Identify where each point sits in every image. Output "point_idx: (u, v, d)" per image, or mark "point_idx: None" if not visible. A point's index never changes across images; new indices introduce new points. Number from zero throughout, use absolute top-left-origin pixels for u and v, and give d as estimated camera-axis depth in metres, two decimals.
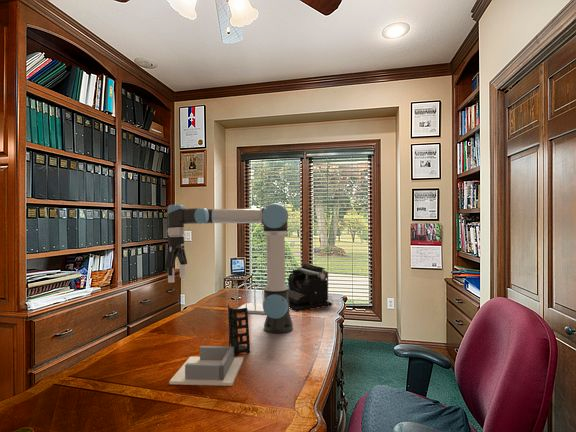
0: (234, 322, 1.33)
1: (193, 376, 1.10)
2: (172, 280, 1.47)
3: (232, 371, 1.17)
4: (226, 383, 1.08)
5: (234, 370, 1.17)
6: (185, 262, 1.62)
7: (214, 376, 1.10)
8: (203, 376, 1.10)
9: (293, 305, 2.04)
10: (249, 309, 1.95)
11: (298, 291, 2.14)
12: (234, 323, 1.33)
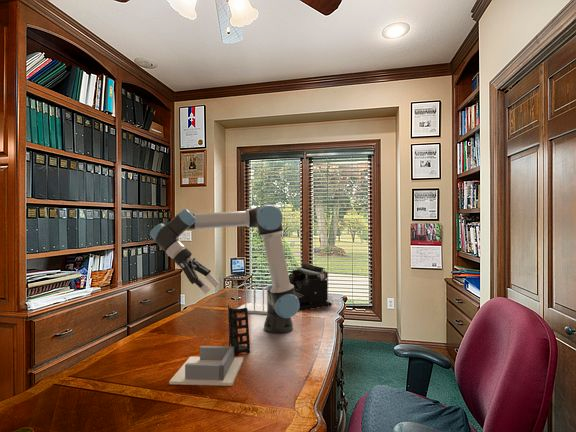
0: (234, 322, 1.33)
1: (193, 376, 1.10)
2: (207, 289, 1.30)
3: (232, 371, 1.17)
4: (226, 383, 1.08)
5: (234, 370, 1.17)
6: (208, 271, 1.46)
7: (214, 376, 1.10)
8: (203, 376, 1.10)
9: None
10: (248, 309, 1.95)
11: (298, 291, 2.14)
12: (234, 323, 1.33)
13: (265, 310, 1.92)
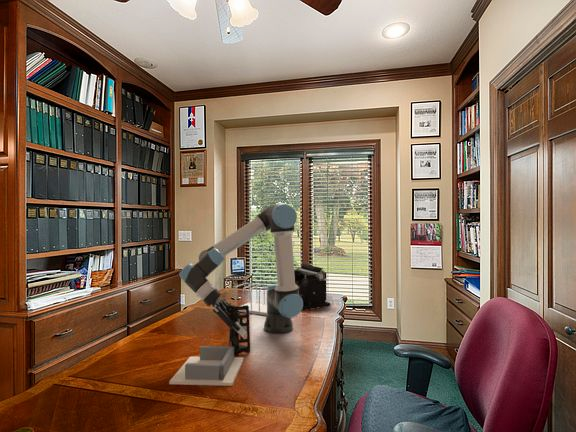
0: (235, 320, 1.34)
1: (193, 376, 1.10)
2: (244, 332, 1.33)
3: (232, 371, 1.17)
4: (226, 383, 1.08)
5: (234, 370, 1.17)
6: None
7: (214, 376, 1.10)
8: (203, 376, 1.10)
9: None
10: None
11: None
12: (235, 321, 1.34)
13: (261, 310, 1.91)
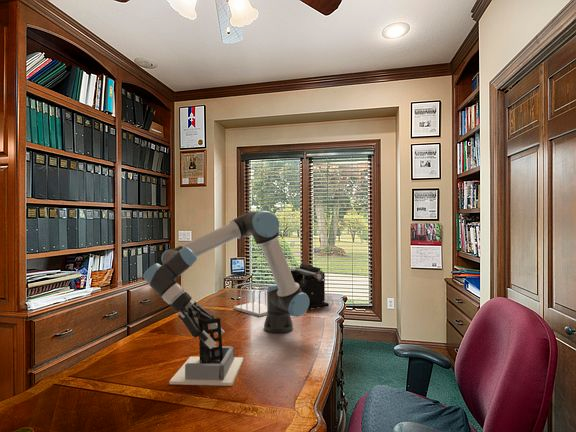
0: None
1: (193, 376, 1.10)
2: (212, 343, 1.13)
3: (232, 371, 1.17)
4: (226, 383, 1.08)
5: (234, 370, 1.17)
6: (212, 317, 1.26)
7: (214, 376, 1.10)
8: (203, 376, 1.10)
9: None
10: (244, 308, 1.98)
11: None
12: None
13: (255, 311, 1.91)
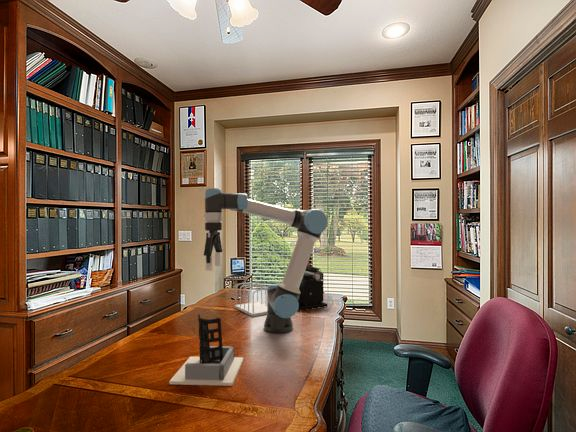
0: (205, 335, 1.16)
1: (193, 376, 1.10)
2: (210, 268, 1.38)
3: (232, 371, 1.17)
4: (226, 383, 1.08)
5: (234, 370, 1.17)
6: (220, 250, 1.53)
7: (214, 376, 1.10)
8: (203, 376, 1.10)
9: None
10: (243, 307, 2.00)
11: None
12: (205, 336, 1.16)
13: (251, 311, 1.91)
